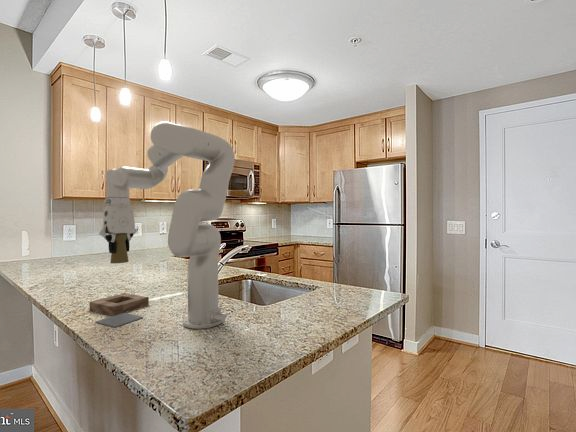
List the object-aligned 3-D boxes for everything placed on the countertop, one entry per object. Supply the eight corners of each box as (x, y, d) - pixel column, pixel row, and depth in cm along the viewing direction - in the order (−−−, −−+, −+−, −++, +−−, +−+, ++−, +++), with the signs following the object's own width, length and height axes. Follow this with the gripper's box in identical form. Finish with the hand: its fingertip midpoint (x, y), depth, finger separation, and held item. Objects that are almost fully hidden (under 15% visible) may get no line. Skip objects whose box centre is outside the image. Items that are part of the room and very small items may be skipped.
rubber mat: (143, 318, 107) (143, 316, 107) (115, 327, 99) (115, 326, 99) (123, 313, 112) (123, 312, 112) (95, 322, 103) (95, 321, 103)
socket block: (148, 305, 122) (148, 297, 122) (113, 315, 110) (113, 307, 110) (124, 300, 129) (124, 293, 129) (89, 310, 116) (89, 302, 116)
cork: (112, 261, 121) (111, 232, 121) (129, 260, 123) (129, 231, 123) (108, 263, 115) (107, 233, 115) (127, 262, 117) (126, 232, 117)
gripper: (102, 202, 109) (103, 255, 110) (144, 203, 124) (145, 250, 125) (89, 202, 113) (90, 254, 113) (132, 203, 128) (133, 249, 128)
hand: (119, 251), depth 119 cm, fingers closed on cork, 4 cm apart
